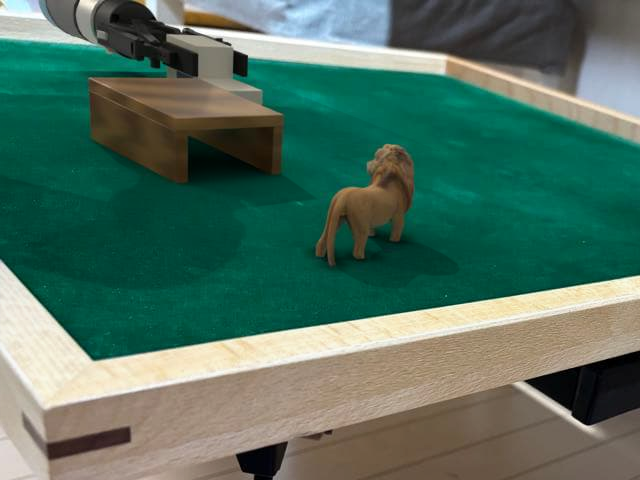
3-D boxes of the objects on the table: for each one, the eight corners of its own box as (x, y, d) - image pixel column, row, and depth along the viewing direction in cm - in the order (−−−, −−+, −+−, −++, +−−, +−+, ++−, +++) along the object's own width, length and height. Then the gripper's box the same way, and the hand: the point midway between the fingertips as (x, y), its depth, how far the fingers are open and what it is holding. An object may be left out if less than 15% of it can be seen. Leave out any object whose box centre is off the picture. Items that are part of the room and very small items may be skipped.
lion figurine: (365, 228, 85) (374, 134, 81) (417, 241, 85) (429, 148, 80) (301, 274, 72) (308, 165, 68) (362, 289, 72) (373, 181, 67)
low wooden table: (91, 149, 90) (87, 77, 87) (196, 144, 99) (196, 77, 96) (176, 195, 83) (176, 118, 80) (280, 184, 92) (284, 114, 89)
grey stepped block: (165, 99, 114) (164, 34, 110) (203, 98, 118) (204, 35, 115) (226, 126, 108) (227, 58, 104) (264, 124, 112) (266, 59, 109)
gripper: (183, 55, 130) (282, 95, 119) (49, 52, 115) (149, 97, 104) (183, 1, 126) (285, 37, 115) (45, -10, 112) (148, 30, 101)
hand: (220, 65), depth 110 cm, fingers open, 6 cm apart
